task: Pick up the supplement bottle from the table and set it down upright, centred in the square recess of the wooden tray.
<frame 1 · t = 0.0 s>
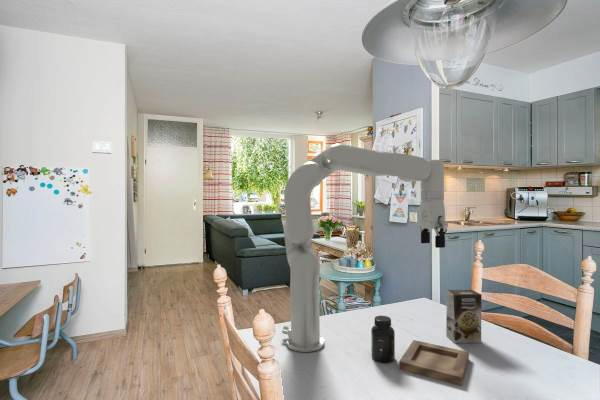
hand: (432, 245, 117), 31 cm above the table, tool pointing down, fingers open, 9 cm apart
supplement bottle: (383, 358, 102), on the table
wooden tray: (434, 364, 98), on the table
coffee box: (463, 340, 113), on the table
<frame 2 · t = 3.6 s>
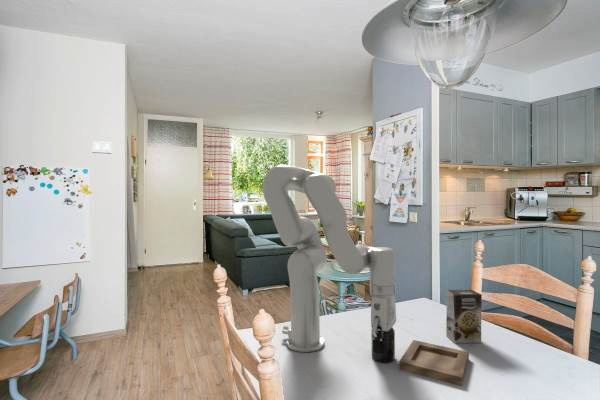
hand: (383, 347, 102), 3 cm above the table, tool pointing down, fingers closed on supplement bottle, 6 cm apart
supplement bottle: (383, 358, 102), on the table, touching gripper
everything else where it was.
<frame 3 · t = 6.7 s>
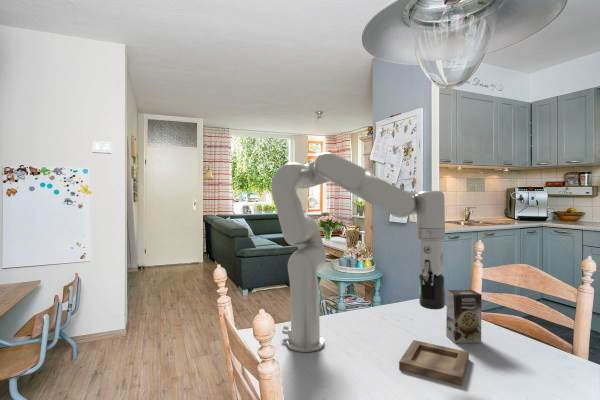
hand: (431, 294, 97), 20 cm above the table, tool pointing down, fingers closed on supplement bottle, 6 cm apart
supplement bottle: (431, 306, 97), point 17 cm above the table, touching gripper
everything else where it was.
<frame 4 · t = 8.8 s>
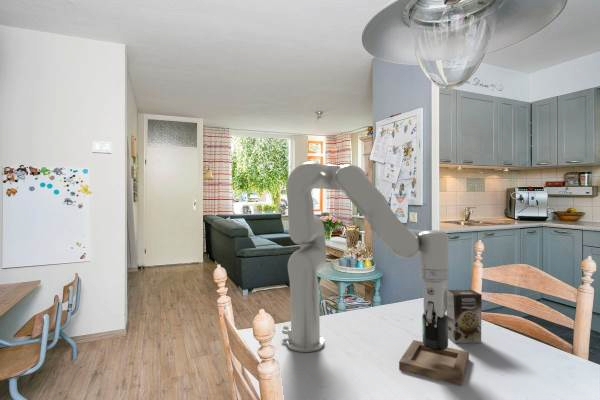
hand: (435, 334, 97), 9 cm above the table, tool pointing down, fingers closed on supplement bottle, 6 cm apart
supplement bottle: (435, 346, 97), point 5 cm above the table, touching gripper
everything else where it was.
when the fingers open (6 cm above the table, at t = 10.0 s): supplement bottle drops 1 cm, resting on wooden tray.
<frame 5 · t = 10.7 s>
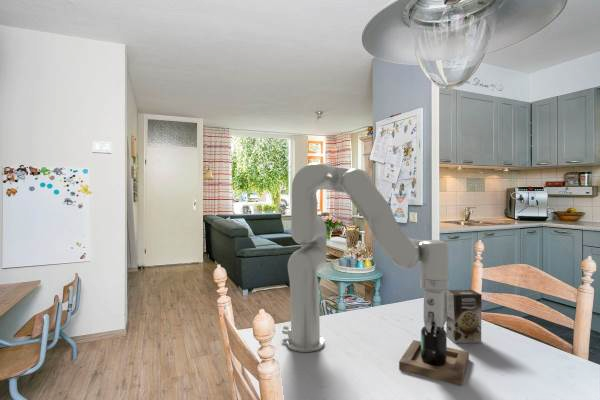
hand: (434, 342, 97), 6 cm above the table, tool pointing down, fingers open, 9 cm apart
supplement bottle: (433, 361, 98), point 1 cm above the table, touching wooden tray
everything else where it was.
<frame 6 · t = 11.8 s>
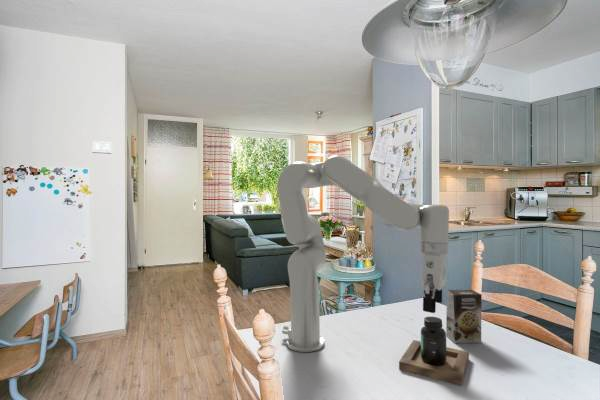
hand: (432, 306, 97), 17 cm above the table, tool pointing down, fingers open, 9 cm apart
nothing on the table moved.
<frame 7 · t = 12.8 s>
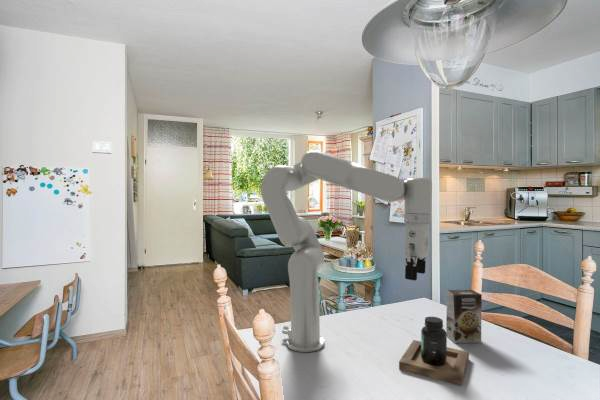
hand: (415, 276, 101), 25 cm above the table, tool pointing down, fingers open, 9 cm apart
nothing on the table moved.
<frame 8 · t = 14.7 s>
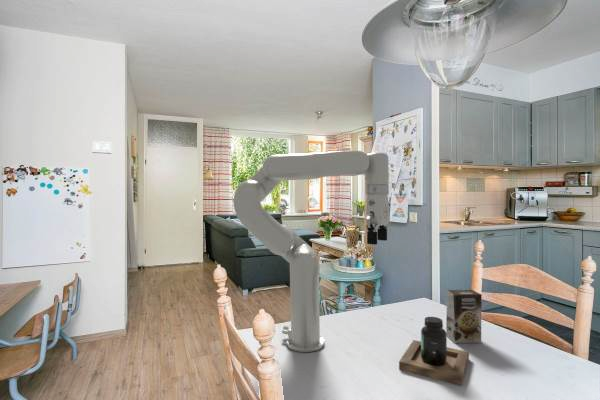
hand: (377, 242, 112), 33 cm above the table, tool pointing down, fingers open, 9 cm apart
nothing on the table moved.
at the end: supplement bottle 0.4 cm off-centre on the wooden tray, point 0.8 cm above the wooden tray's base; supplement bottle tilted 0°; the gripper is holding nothing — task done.
